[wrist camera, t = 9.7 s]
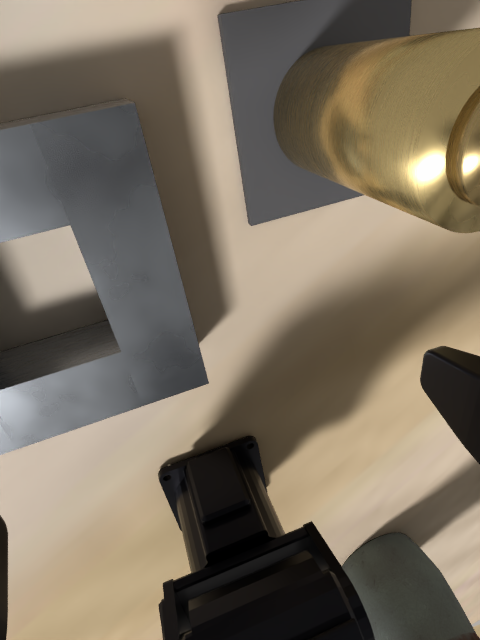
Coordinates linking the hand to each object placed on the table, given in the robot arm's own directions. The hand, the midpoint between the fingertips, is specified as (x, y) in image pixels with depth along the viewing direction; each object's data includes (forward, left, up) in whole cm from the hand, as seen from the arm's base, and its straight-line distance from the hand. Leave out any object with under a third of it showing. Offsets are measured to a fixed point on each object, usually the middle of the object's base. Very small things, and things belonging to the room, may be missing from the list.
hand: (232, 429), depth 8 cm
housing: (-1, +5, -12) cm, 13 cm away
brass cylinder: (+3, -9, -12) cm, 15 cm away
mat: (+3, -9, -12) cm, 15 cm away
